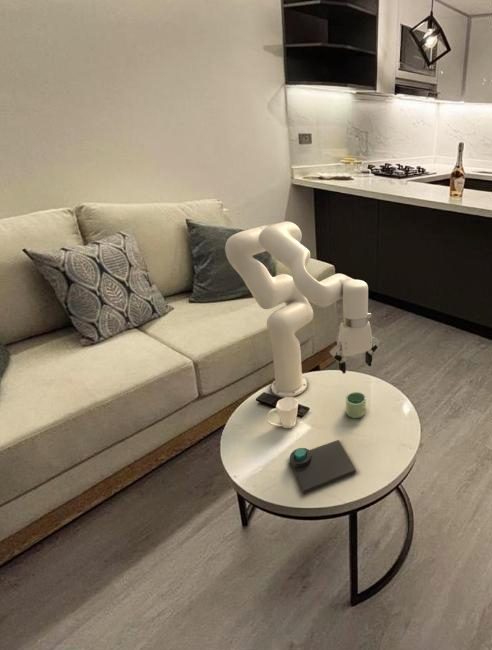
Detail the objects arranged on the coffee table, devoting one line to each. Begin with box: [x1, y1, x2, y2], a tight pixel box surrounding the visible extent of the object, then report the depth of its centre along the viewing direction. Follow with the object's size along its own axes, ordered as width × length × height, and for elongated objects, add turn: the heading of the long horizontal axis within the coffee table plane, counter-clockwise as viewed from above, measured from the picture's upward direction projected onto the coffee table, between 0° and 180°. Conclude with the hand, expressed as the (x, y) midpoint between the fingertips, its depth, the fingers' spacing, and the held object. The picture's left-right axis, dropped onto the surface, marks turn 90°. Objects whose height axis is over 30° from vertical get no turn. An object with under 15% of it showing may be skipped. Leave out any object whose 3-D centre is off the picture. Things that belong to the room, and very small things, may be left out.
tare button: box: [295, 448, 306, 461], centre depth 116 cm, size 3×3×2 cm
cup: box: [266, 396, 299, 429], centre depth 130 cm, size 7×10×8 cm
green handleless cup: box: [345, 391, 367, 419], centre depth 137 cm, size 7×7×6 cm
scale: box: [289, 439, 357, 495], centre depth 116 cm, size 14×16×3 cm
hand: (355, 367), depth 131 cm, fingers open, 8 cm apart
